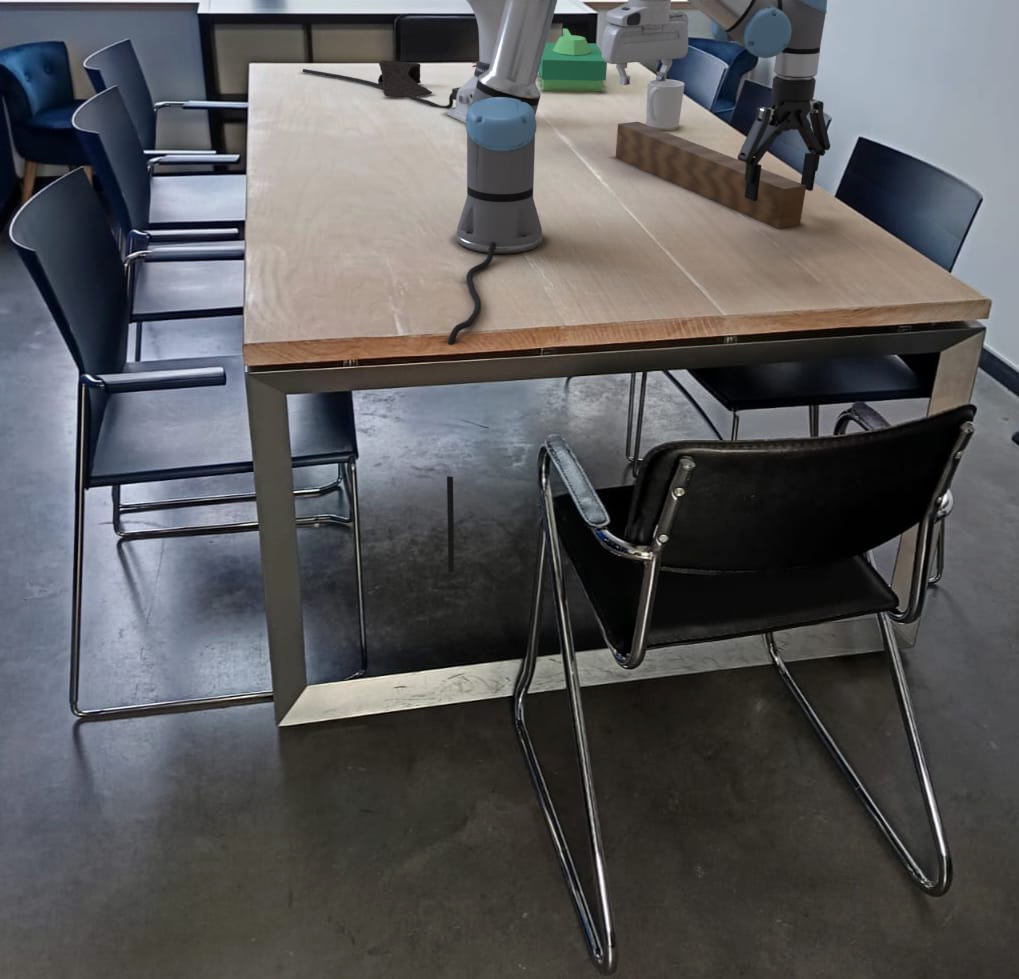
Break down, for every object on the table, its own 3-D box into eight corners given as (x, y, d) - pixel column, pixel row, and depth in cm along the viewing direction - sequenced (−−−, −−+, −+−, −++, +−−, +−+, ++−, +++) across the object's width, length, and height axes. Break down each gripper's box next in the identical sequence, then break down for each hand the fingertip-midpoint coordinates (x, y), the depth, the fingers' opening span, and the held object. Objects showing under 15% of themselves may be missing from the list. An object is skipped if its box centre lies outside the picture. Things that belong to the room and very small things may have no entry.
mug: (656, 120, 276) (660, 77, 271) (687, 126, 272) (691, 82, 266) (632, 127, 269) (635, 84, 264) (663, 134, 264) (667, 89, 259)
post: (800, 224, 207) (806, 185, 203) (778, 228, 205) (784, 188, 201) (635, 155, 248) (637, 121, 244) (615, 157, 246) (617, 123, 242)
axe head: (443, 87, 294) (392, 77, 287) (436, 115, 299) (385, 106, 292) (421, 62, 307) (371, 52, 300) (414, 89, 311) (365, 80, 304)
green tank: (593, 25, 326) (608, 46, 296) (591, 69, 332) (604, 93, 302) (534, 24, 325) (543, 45, 295) (533, 67, 331) (541, 92, 301)
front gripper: (832, 66, 204) (815, 180, 215) (726, 78, 193) (714, 197, 204) (861, 73, 198) (842, 189, 209) (753, 86, 188) (739, 208, 199)
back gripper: (679, 8, 234) (673, 76, 241) (599, 13, 225) (595, 83, 233) (697, 12, 229) (690, 81, 237) (616, 18, 221) (611, 89, 228)
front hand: (779, 194), depth 207 cm, fingers open, 13 cm apart
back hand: (642, 82), depth 235 cm, fingers open, 8 cm apart
